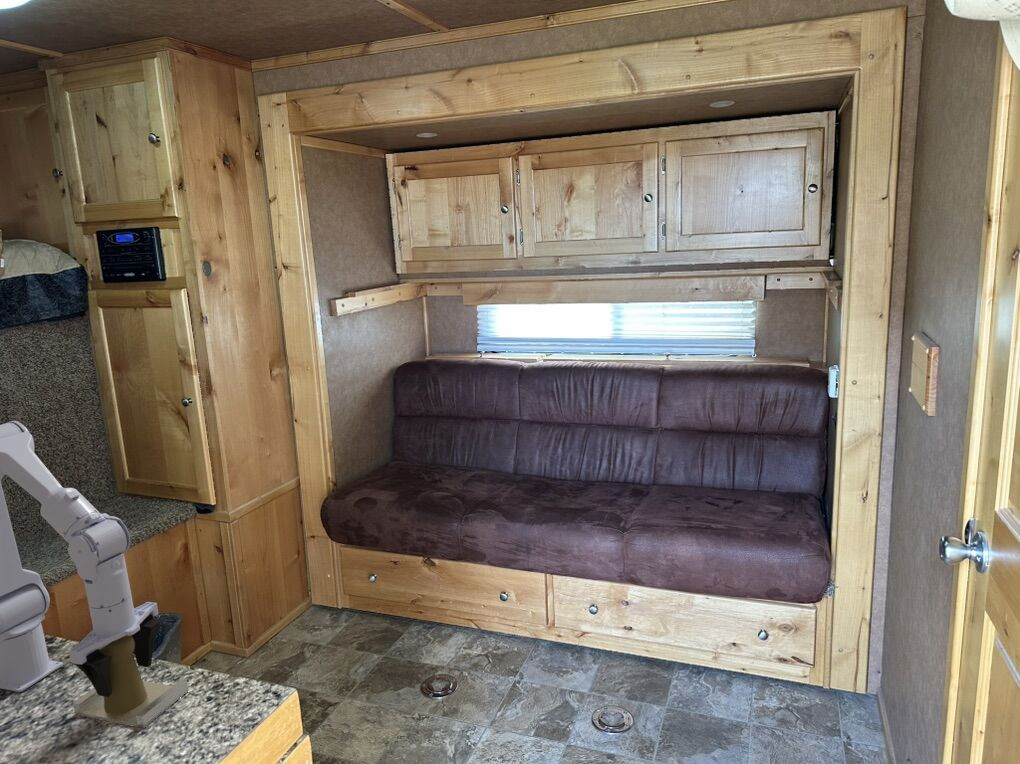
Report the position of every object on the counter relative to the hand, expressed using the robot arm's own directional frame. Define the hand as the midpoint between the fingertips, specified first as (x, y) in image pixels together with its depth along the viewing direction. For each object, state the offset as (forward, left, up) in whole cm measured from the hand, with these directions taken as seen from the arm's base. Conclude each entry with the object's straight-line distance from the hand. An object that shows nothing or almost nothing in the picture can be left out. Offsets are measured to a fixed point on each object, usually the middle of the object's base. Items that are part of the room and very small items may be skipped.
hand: (125, 679), depth 112 cm
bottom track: (0, 0, -4) cm, 4 cm away
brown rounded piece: (-1, 0, -4) cm, 4 cm away
